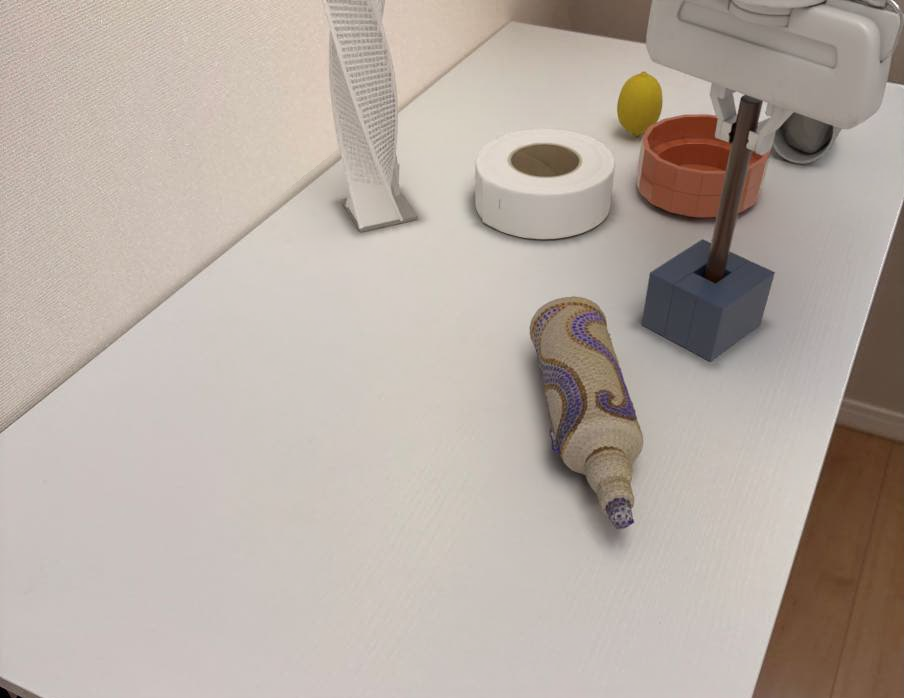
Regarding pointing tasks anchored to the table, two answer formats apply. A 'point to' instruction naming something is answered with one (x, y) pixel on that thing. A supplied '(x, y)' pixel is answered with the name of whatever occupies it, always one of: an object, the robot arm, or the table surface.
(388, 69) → the skyscraper
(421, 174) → the table surface
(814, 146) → the ceramic mug
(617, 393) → the decorative bottle
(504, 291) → the table surface
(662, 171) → the bowl
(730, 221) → the stick
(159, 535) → the table surface
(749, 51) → the robot arm
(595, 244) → the table surface
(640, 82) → the lemon
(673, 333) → the stand
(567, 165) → the tape roll
